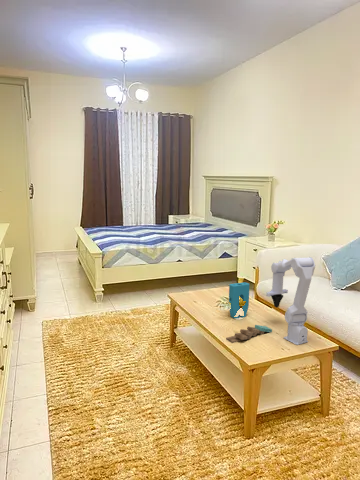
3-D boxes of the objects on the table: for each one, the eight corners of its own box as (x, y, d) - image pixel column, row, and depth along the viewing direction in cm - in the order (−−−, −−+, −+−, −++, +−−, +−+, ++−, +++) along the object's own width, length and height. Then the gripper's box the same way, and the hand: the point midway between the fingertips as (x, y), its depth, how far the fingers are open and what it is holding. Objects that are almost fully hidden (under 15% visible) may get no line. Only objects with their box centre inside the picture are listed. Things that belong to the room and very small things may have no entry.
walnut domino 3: (256, 333, 193) (248, 332, 187) (256, 336, 193) (247, 335, 187) (249, 330, 196) (240, 329, 191) (248, 333, 196) (239, 332, 191)
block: (244, 313, 226) (245, 282, 223) (248, 316, 221) (250, 284, 218) (227, 316, 221) (228, 284, 218) (232, 319, 216) (233, 286, 213)
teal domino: (272, 329, 198) (261, 327, 194) (271, 332, 198) (260, 330, 194) (266, 326, 202) (255, 324, 198) (265, 329, 202) (254, 327, 198)
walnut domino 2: (251, 335, 190) (243, 336, 184) (250, 338, 190) (242, 339, 184) (243, 332, 193) (234, 333, 187) (242, 335, 193) (234, 336, 187)
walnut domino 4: (264, 331, 196) (253, 329, 191) (263, 334, 196) (252, 332, 191) (258, 328, 200) (247, 326, 196) (257, 330, 200) (246, 329, 196)
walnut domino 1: (244, 338, 188) (232, 341, 184) (244, 341, 189) (232, 344, 185) (238, 334, 193) (226, 337, 188) (238, 337, 193) (226, 340, 189)
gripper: (282, 280, 212) (280, 302, 215) (262, 283, 205) (261, 306, 208) (291, 283, 206) (289, 306, 209) (271, 286, 199) (270, 310, 201)
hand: (276, 306), depth 208 cm, fingers closed
